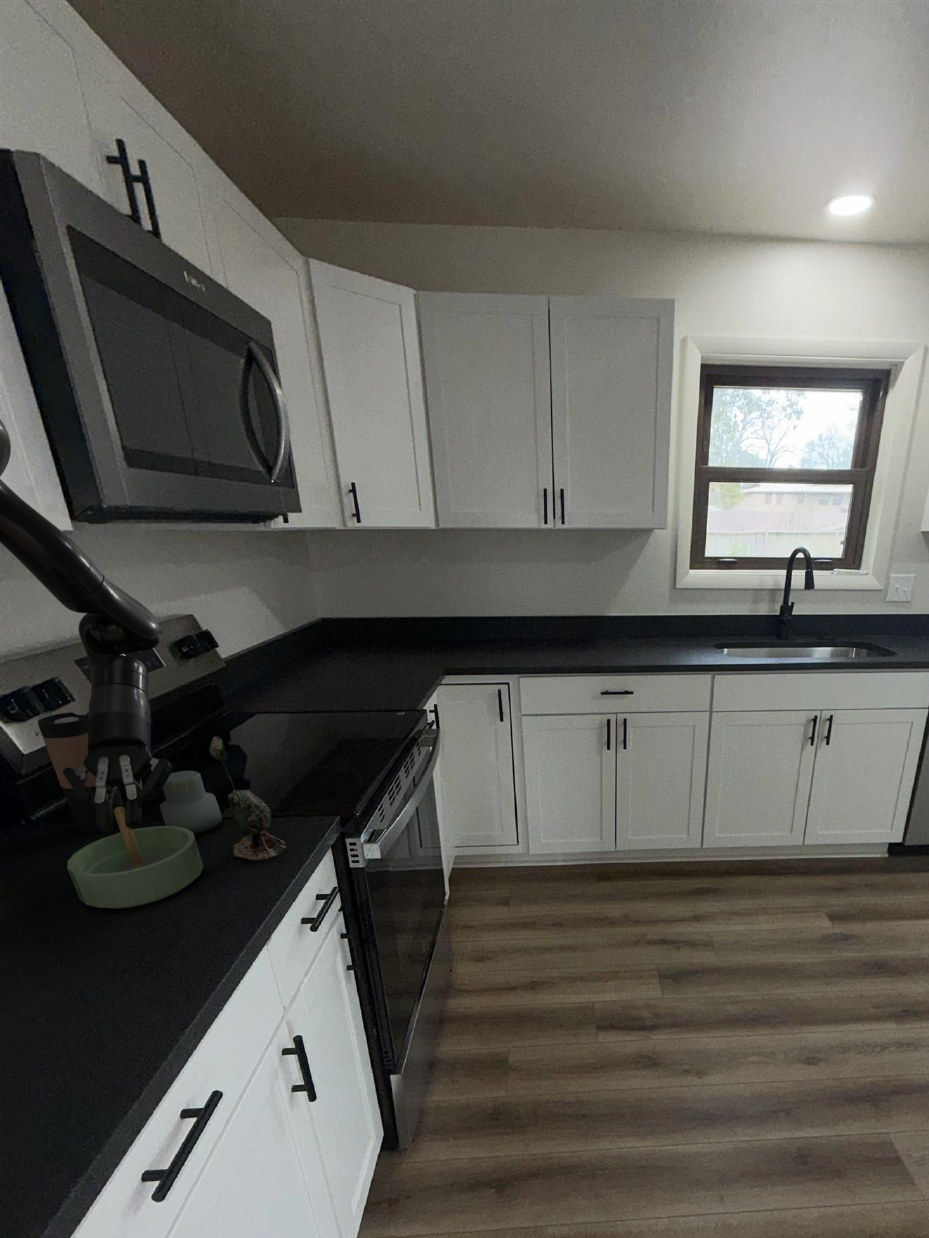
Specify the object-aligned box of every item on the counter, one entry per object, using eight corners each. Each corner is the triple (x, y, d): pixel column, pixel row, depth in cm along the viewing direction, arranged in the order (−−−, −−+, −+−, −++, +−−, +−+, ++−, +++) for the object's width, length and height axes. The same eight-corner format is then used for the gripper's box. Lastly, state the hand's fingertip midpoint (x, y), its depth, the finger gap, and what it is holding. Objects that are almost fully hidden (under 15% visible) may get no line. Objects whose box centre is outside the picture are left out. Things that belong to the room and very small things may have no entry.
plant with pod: (233, 874, 101) (199, 753, 93) (232, 844, 110) (201, 731, 102) (290, 861, 105) (262, 744, 96) (284, 833, 114) (258, 724, 105)
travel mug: (83, 838, 112) (41, 727, 104) (73, 825, 117) (32, 718, 108) (135, 824, 117) (98, 717, 109) (123, 811, 122) (87, 708, 113)
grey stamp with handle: (113, 892, 95) (85, 818, 90) (126, 872, 100) (101, 801, 95) (160, 885, 96) (136, 812, 91) (171, 866, 101) (148, 796, 96)
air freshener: (165, 823, 117) (149, 772, 113) (217, 812, 122) (203, 762, 118) (172, 846, 109) (154, 791, 105) (226, 833, 114) (212, 780, 110)
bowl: (63, 921, 89) (47, 884, 87) (103, 867, 103) (90, 834, 100) (191, 901, 94) (180, 865, 91) (213, 852, 107) (203, 820, 105)
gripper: (51, 713, 92) (45, 827, 87) (163, 705, 96) (164, 812, 91) (78, 738, 99) (74, 844, 94) (181, 729, 103) (184, 830, 98)
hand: (119, 828), depth 92 cm, fingers closed
